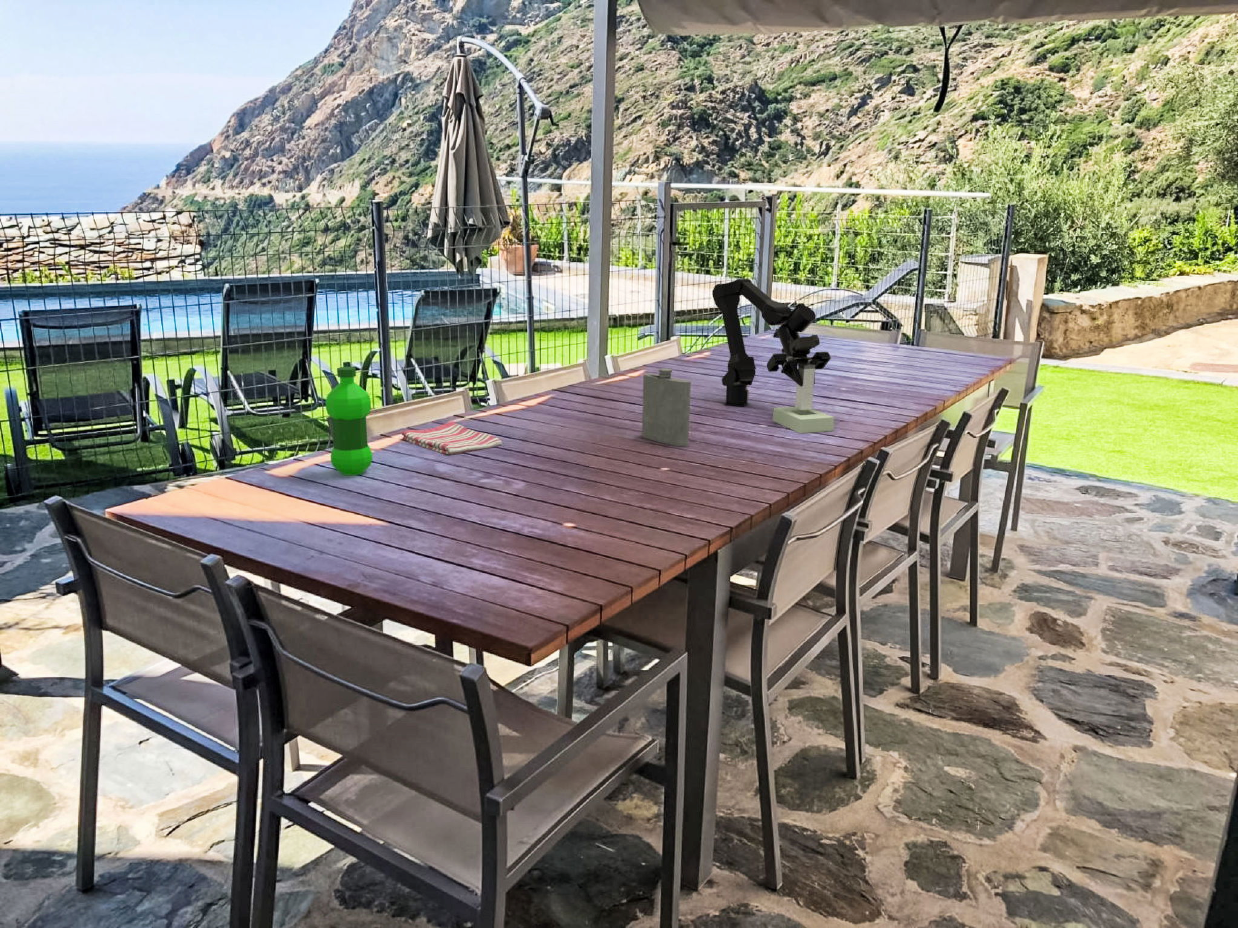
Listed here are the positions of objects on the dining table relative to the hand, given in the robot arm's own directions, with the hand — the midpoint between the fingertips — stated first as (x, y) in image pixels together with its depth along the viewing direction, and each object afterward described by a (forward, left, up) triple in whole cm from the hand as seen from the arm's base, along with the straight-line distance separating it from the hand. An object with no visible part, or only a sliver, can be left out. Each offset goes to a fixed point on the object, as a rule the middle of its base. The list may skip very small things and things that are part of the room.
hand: (807, 385), depth 277 cm
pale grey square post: (-1, +1, -7) cm, 7 cm away
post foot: (-1, +1, -12) cm, 12 cm away
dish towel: (-88, -53, -13) cm, 104 cm away
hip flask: (-35, -31, -13) cm, 48 cm away
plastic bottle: (-97, -87, -13) cm, 131 cm away
